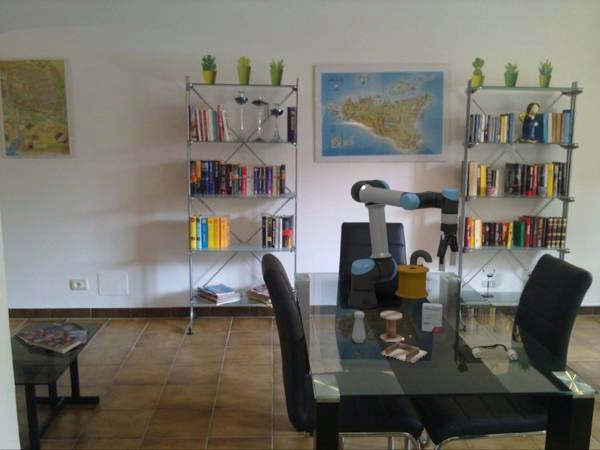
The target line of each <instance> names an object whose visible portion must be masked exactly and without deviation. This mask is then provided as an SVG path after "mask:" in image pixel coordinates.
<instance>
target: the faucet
mask: <svg viewBox="0 0 600 450" xmlns="http://www.w3.org/2000/svg"><path fill="white" fill-rule="evenodd" d="M419 258H423V260H424V262H425V263H428V264H430V263H431V264H432V262H433V258H432V255H431V254H430V253H429V252H428V251H426V250H424V249H417V250H414V251H413V252H412V253H411V255H410V257H409V265H419V266H424V264H422V263H421V264H418V259H419Z"/></svg>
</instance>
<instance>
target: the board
mask: <svg viewBox="0 0 600 450" xmlns="http://www.w3.org/2000/svg"><path fill="white" fill-rule="evenodd" d="M381 354H382V355H381ZM426 354H427V355H428V351H426V350H422V349H420V347H417V346H413V345H409V344H406V343H401V342H396V343H392V345H390V346H388V347H387V348H385V349H384V350H383V351H381V352H380V355H381V356H384V355H385V356H384V357H387V356H389V357H388V358H391V357H393V358H392V359H394V358H396V359H395V360H398V359H399V360H398V361H401V360H402V361H401V362H405V361H407V362H406V363H408V362H411V363H410V364H412V363H414V362H415V363H417V362H418V361H420V360H421V359H422V358H423V356H424V357H425V356H426ZM420 358H421V359H420ZM419 359H420V360H419ZM417 360H418V361H417ZM416 361H417V362H416ZM415 363H414V364H415Z"/></svg>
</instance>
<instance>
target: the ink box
mask: <svg viewBox="0 0 600 450" xmlns="http://www.w3.org/2000/svg"><path fill="white" fill-rule="evenodd" d="M421 310H422V311H421V331H422V332H430V333H431V332H432V333H442V331H443V303H431V302H430V303H428V302H423V304H422V308H421Z"/></svg>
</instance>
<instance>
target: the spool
mask: <svg viewBox="0 0 600 450" xmlns="http://www.w3.org/2000/svg"><path fill="white" fill-rule="evenodd" d="M419 265H420V264H417V265H410V264H402V265H397V267H398V270H397V272H398V282H397V283H398V289H397V290H396V291H395V295H396V296H398V297H400V298H403V299H413V300H414V299H415V300H417V299H418V300H419V299H425V298H428V297H429V292H428V291H427V273H428V272H430V268H429V267H428V266H424V265H423V266H419Z"/></svg>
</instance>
